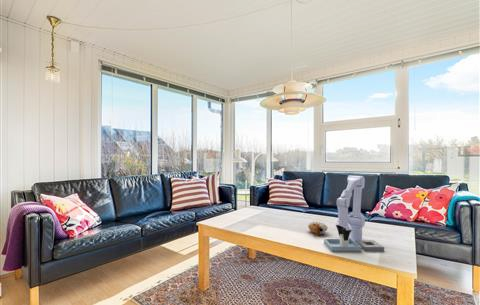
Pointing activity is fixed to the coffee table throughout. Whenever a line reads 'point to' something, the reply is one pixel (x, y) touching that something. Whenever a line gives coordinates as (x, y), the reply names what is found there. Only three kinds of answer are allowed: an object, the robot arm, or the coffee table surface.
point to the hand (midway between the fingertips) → (343, 238)
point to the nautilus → (317, 227)
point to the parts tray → (335, 246)
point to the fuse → (342, 242)
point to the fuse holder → (370, 245)
